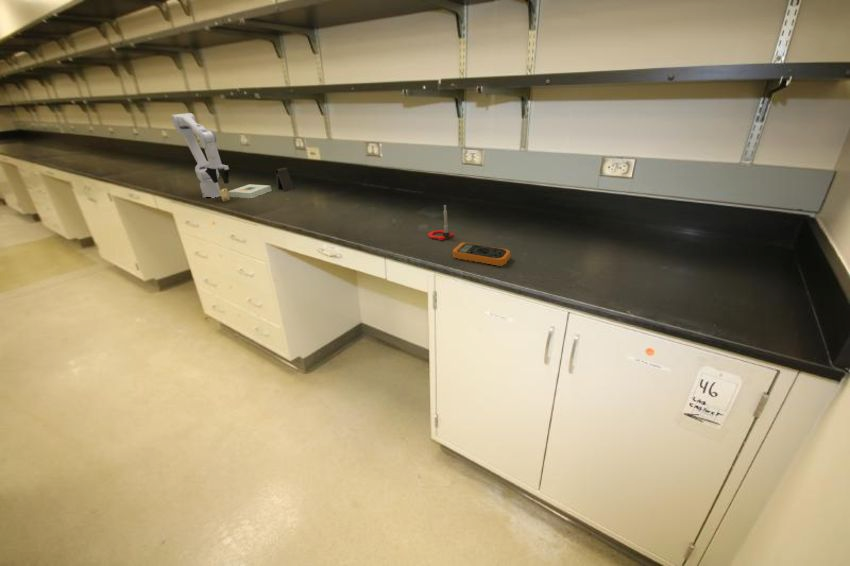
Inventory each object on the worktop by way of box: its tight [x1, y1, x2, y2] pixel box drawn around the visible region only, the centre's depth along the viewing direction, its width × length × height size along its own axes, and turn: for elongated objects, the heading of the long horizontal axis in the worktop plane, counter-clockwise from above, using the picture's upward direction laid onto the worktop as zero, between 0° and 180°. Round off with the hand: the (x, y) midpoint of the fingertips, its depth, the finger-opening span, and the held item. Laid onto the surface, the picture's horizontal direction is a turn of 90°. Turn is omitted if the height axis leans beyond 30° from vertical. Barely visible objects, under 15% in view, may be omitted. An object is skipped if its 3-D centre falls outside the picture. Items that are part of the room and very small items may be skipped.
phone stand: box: [275, 166, 295, 192], centre depth 213 cm, size 9×6×12 cm, turn 50°
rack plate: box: [227, 183, 273, 200], centre depth 209 cm, size 16×16×3 cm
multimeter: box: [452, 242, 511, 266], centre depth 122 cm, size 9×18×3 cm, turn 61°
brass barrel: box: [219, 187, 231, 202], centre depth 199 cm, size 4×4×6 cm
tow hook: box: [427, 204, 455, 242], centre depth 139 cm, size 8×13×9 cm
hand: (221, 183), depth 196 cm, fingers open, 7 cm apart
